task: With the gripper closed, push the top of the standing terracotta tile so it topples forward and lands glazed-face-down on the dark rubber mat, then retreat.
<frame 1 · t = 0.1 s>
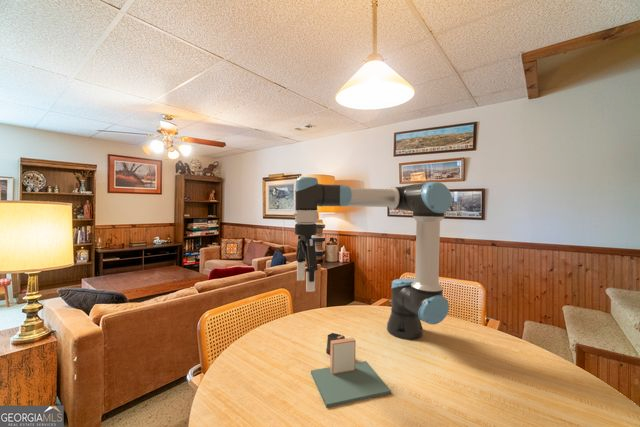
hand: (305, 285, 93), 28 cm above the table, fingers open, 13 cm apart
electronic device: (339, 356, 100), on the table
tile: (342, 370, 89), point 1 cm above the table, touching mat
mat: (348, 383, 84), on the table
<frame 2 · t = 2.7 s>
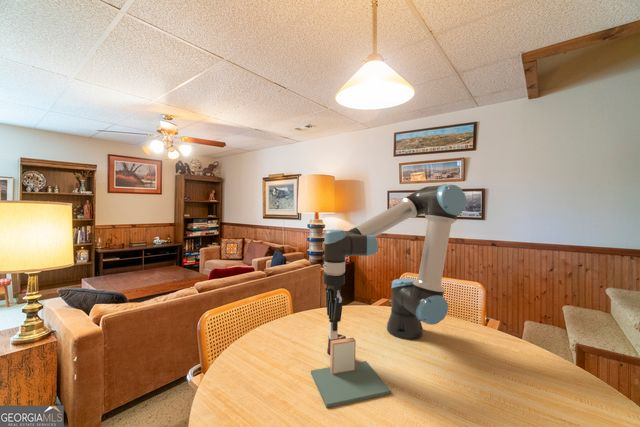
hand: (333, 338, 98), 8 cm above the table, fingers closed
electronic device: (340, 357, 99), on the table, touching gripper
everything else where it was.
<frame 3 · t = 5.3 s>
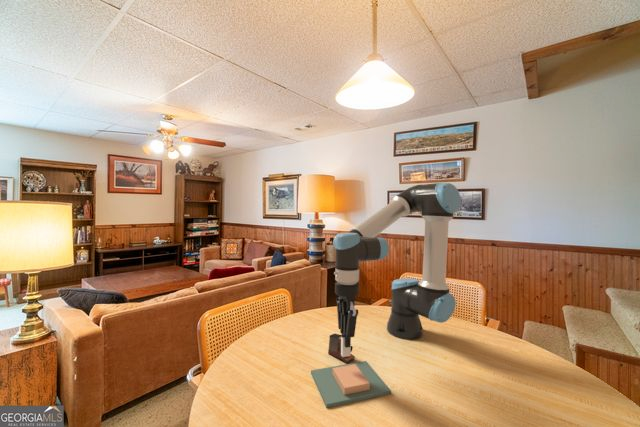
hand: (345, 355, 86), 7 cm above the table, fingers closed
electronic device: (341, 357, 99), on the table
tile: (344, 369, 88), point 2 cm above the table, tilted 90°, touching mat
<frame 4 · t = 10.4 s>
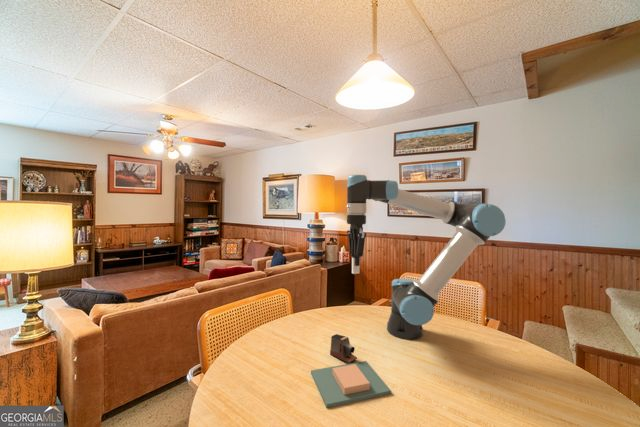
hand: (355, 273, 108), 28 cm above the table, fingers closed
nothing on the table moved.
at the end: tile tilted 90°; tile inside the target area on the mat (4.3 cm from its centre), point 2.1 cm above the mat's base; the gripper is holding nothing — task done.
